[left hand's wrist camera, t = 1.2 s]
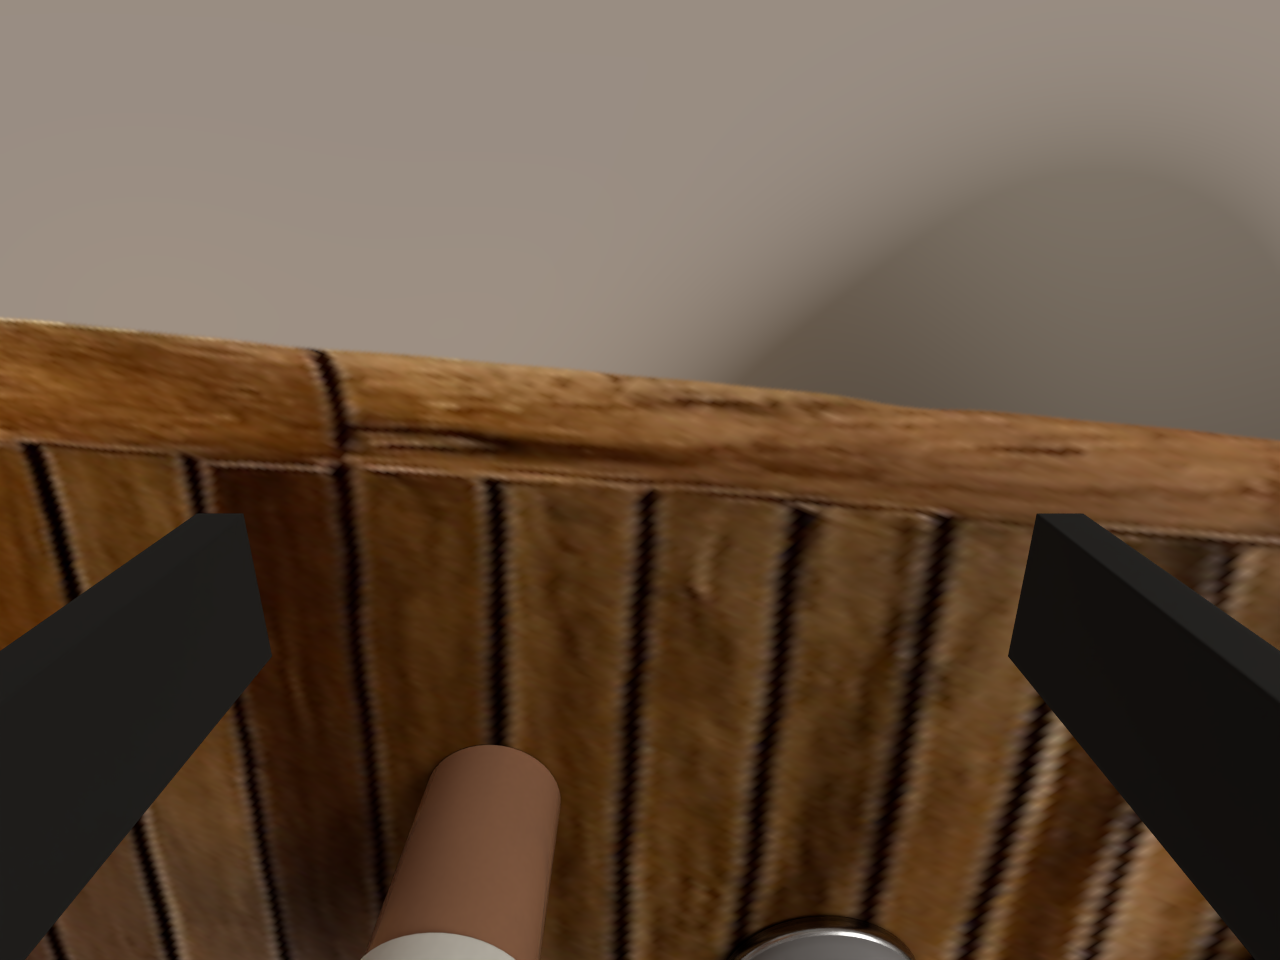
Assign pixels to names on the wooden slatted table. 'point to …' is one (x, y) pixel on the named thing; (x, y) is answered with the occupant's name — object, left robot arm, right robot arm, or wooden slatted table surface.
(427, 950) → the lid
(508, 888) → the jar
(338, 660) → the wooden slatted table surface
